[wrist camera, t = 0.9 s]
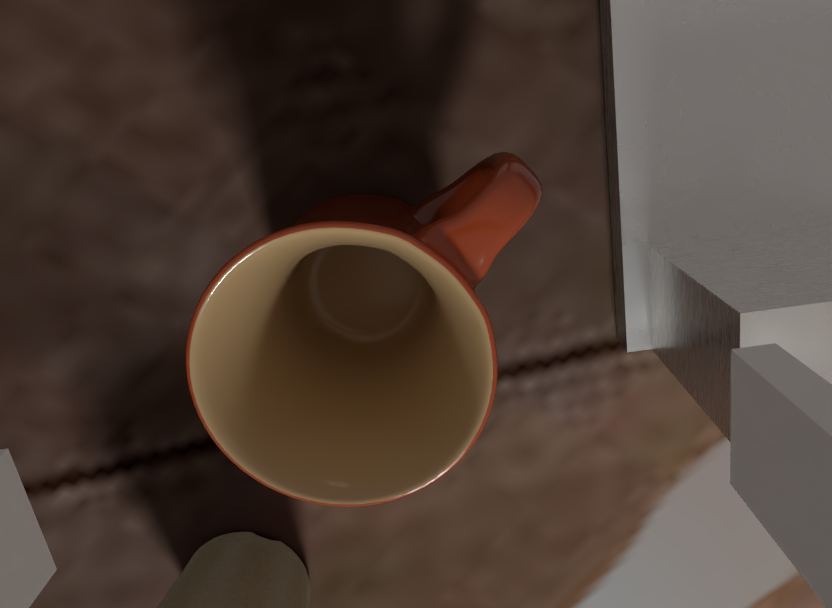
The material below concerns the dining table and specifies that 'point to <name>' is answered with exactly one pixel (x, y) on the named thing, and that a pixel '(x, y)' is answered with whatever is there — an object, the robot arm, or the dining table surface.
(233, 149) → the dining table surface
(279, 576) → the flower pot
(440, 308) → the mug
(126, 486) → the dining table surface
